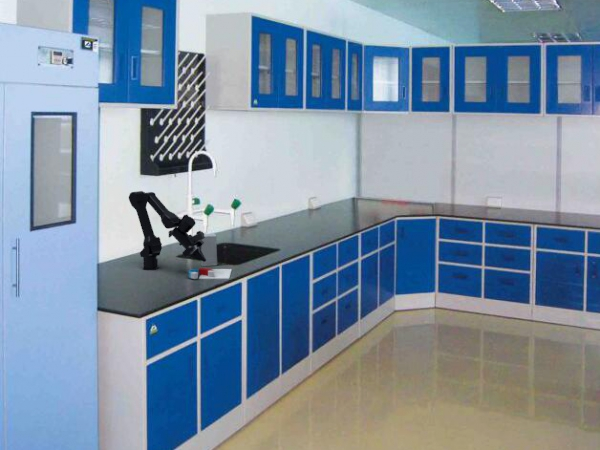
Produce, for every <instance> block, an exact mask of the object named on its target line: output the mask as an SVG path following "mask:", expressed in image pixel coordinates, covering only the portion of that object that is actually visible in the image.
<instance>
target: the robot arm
mask: <svg viewBox="0 0 600 450" xmlns="http://www.w3.org/2000/svg"><path fill="white" fill-rule="evenodd" d="M128 200H129V203H130V205H131V206H132V208H133V209H134V210H135V211H136V215H137V217H138V221H139V224H140V227H141V230H142V231H141V232H142V234H143V237H144V238H143V243H142V246H143V248H142V249H141V250H140V252H139V256H140V258H143V260H142V261H143V268H142V270H157V269H158V267H159V258H158V256H160V254H161V251H162V249H163V248H162V246H163V244H162V242H161V238H160V237H159V236H158V237H157V236H156V235H155V233H154V229H153V226H152V222H151V220H150V216H149V212H148V210H147V204H148V205H150V207H151V208H152V209H153V210H154V211H155V212H156V213H157V215H158V216H159V217H160V220H161V223H162V225H163V226H164V228H165V229H166V230H167V229H171V230H169V231H168V238H171V237H173V238H174V239H175V240H177V242H178V243H179V246H180V247H181V246H182V247H183V248H184V250H183V251H182V257H183V258H185V259H186V258H188V257H190V258H194V259H196V260H199V261H200V262H201V261H203V262H205V261H206V258H205V257H204V255H203V253H202V251H201V248H202V245H203V244H204V242H203V241H202V239H204V238H205V236H204V234H205V233H204V232H203V231H202V230H198V231H196V234H195V235H192V234H188V233H189V232H190V231H191V229H193V227H195V225H196V220H195V218H193V217H191V216H189V215H188V214H183V216H182V217H181V218H180V217H179V216H178V215H177V214H176V213H174V212H172V211H170V210H169V209H168V208H167V207H166V206H165V205H164V203H163V202H162V201H161V200H160V199H159V197H157V196H156V193H155V192H152V191H150V192H149V191H148V192H145V191H142V190H139V191H132V192H130V193H129V196H128Z"/></svg>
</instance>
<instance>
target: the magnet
mask: <svg viewBox="0 0 600 450" xmlns="http://www.w3.org/2000/svg"><path fill="white" fill-rule="evenodd" d="M212 269H213V268H205V267H202V268H192V269H189V270H188V278H189V279H192V280H197V279H199V276H200V275H207V276H208V277H214V270H212Z"/></svg>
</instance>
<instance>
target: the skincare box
mask: <svg viewBox="0 0 600 450" xmlns="http://www.w3.org/2000/svg"><path fill="white" fill-rule="evenodd" d="M204 236H205V238H204V239H202V241H203V242H204V244H203V245H202V248H201V251H202V253H203V255H204V257H205V258H206V261H205V262H203V261H201V260H200V265H201V267H211V266H218V252H217V251H218V250H217V235H216V233H204Z"/></svg>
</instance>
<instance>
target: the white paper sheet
mask: <svg viewBox="0 0 600 450" xmlns="http://www.w3.org/2000/svg"><path fill="white" fill-rule="evenodd" d="M211 269H212V270H214V277H208V276H207V275H199V276H198V280H230V277H231V274H232V270H233V269H232V268H211Z"/></svg>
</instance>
